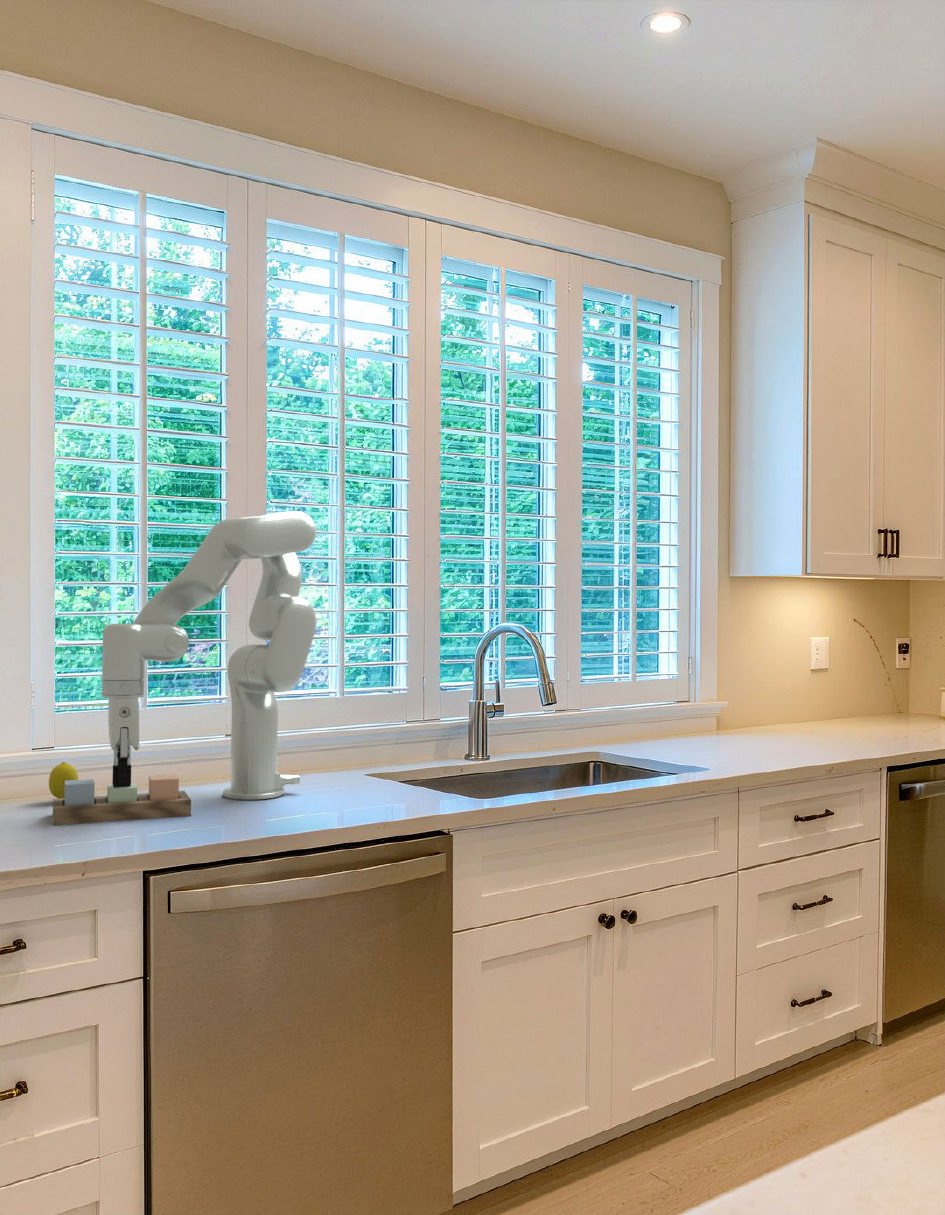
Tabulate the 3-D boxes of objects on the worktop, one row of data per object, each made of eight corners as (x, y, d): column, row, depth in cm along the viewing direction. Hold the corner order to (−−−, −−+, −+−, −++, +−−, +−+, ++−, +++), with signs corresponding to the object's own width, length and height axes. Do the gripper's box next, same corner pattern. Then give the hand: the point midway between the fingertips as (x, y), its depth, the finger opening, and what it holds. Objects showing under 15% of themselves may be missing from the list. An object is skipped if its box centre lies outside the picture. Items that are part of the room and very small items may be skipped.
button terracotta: (175, 800, 192) (175, 774, 192) (178, 805, 187) (178, 778, 187) (148, 802, 190) (148, 776, 190) (151, 806, 185) (151, 780, 185)
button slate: (93, 805, 186) (93, 779, 186) (94, 810, 181) (94, 783, 181) (64, 807, 184) (64, 780, 184) (64, 812, 179) (65, 785, 179)
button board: (184, 806, 195) (184, 790, 195) (190, 815, 186) (191, 799, 186) (52, 814, 185) (52, 798, 185) (52, 825, 176) (53, 808, 176)
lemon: (69, 798, 202) (69, 759, 202) (83, 801, 199) (83, 761, 199) (43, 801, 198) (43, 762, 198) (57, 805, 194) (57, 764, 194)
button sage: (134, 809, 189) (135, 783, 189) (136, 814, 184) (137, 787, 184) (107, 811, 187) (107, 785, 187) (108, 816, 182) (108, 789, 182)
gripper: (147, 691, 180) (146, 792, 180) (140, 686, 194) (139, 779, 194) (103, 692, 177) (102, 794, 177) (100, 686, 191) (98, 781, 191)
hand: (121, 786), depth 186 cm, fingers closed
